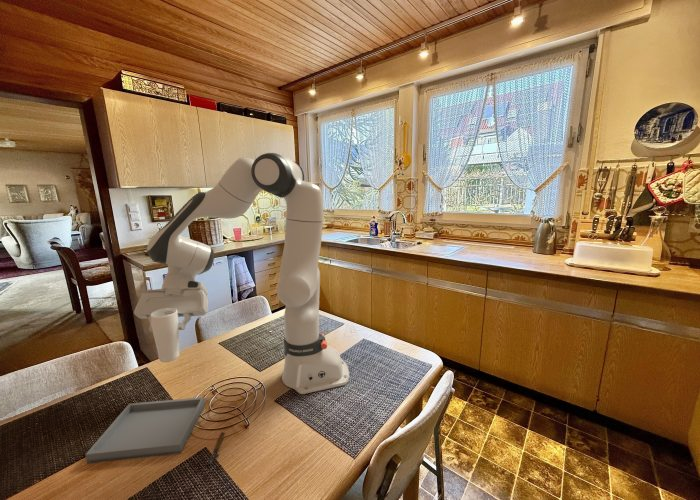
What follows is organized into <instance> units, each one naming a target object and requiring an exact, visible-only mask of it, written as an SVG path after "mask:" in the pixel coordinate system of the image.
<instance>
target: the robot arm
mask: <svg viewBox="0 0 700 500" xmlns="http://www.w3.org/2000/svg"><path fill="white" fill-rule="evenodd" d="M262 191H265V192H267V193H268V194H270V195H273V196H275V197H277V198H281V199H282V198H283V199H284V200H285V203H286V211H285V212H286V216H285V227H284V228H285V233H284V243H283V244H284V245H283V251H282V256H281V261H280V262H281V263H280V267H279V268H280V269H279V273H278V274H279V275H278V281H277V287H276V294H277V298H278V300H279V301H280V302H281V303H282V304H283V305H284V306H285V308H284V314H283V315H284V316H283V317H284V318H283V320H284V323H283V324H284V337H283V354H284V365H283V371H282V375H281V381H282V383H283V384H284V386H287V387H289V388H291V389H294V390H295V391H296V392H297V393H298V394H299V395H300V394H301V395H305V394H310V393H313V392H320V391H323V390H327V389H332V388H337V387H341V386H345V385H347V384H348V381H349V378H350V371H349V367H348V364H347V362H345V360H343V359H342V357H341V354H340V353H339V351H338V350H337V349H336V348H334V347H332V346H330V345H329V344H328V343H327V341H326V336H325V335H324V333H323V332H322V334H321V333H320V316H319V312H320V295H321V294H320V293H321V288H320V287H321V271H320V268H319V259H320V253H321V248H322V247H321V246H322V235H323V223H324V201H323V200H324V199H323V192H322V189H321V188H320V186H318V185H317V184H315V183H313V182H310V181H306V180H305V173H304V170H303V168H302V167H301V165H300V164H298V162H296V161H294V160H292V159H291V158H289V157H288V156H285V155H281V154H279V153H275V152H266V153H262V154H260V155H259V156H258V157H257V158H255V159H253V158H250V157H245V156H244V157H239V158H238V159H236V160H235V161H234V162H233V163H232V164H231V165H230V166H229V167H228V169H227V170H226V171H225V172H224V174H223V175H222V177H221V178H220V179H219V181H218V183H217V184H215V186H214V187H213V188H210V189H209V190H207V191H205V192H204V191H202V192H201V191H198V193H196V194H194V195H193V196H192V197H190V199H189V200H188V201H186V203H184V204H183V206H182V207H181V208H180V209H179V210H178V211H177V212H176V213H175V214H174V216H172V217H171V218H170V220H169V221H168V222H166V223H165V225H164V226H163V227H162V228H160V229H159V230H158V231H157V232H156V233H155V234H154V235H153V236H152V237H151V238H150V240H149V241H148V243H147V248H146V253H147V255H148V256H149V258H150V259H151V260H152V261H153V262H154V263H158V264H164V265H167V273H166V274H165V276H164V279H163V282H162V284H161V288H157V289H150V288H149V289H147V290H146V291H144V292H142V293H141V295H140V298H139V300H138V301H137V304H136V306H135V308H134V309H133V310H134V311H133V314H134V315H135V316H136V317H137V318H139V319H141V320H142V319H144V320H145V319H147V321H148V324H149V327H148V331H149V332H151V333H153V331H152V325H151V313H153V312H154V311H156V310H159V309H164V308H175V309H177V312H178V318H181V317H183V319H182V321H181V322H179V325H178V330H179V331H184V330H185V329H186V325H188V323H189V322H190V321H191V320H192V317H198V316H199V317H200V316H205V315H207V313H208V311H209V297H208V294H209V291H208V288H207V287H206V286H205V284H203V282H201V281H196V279H195V278H196V276H197V275H202V274H204V273H206V272H208V271H210V269H211V268H212V267H213V264H214V259H215V252H214V250H213V248H212V247H211V246H209V245H208V244H205V243H203V242H201V241H198V240H194V239H191V238H189V237H187V236H183V235H181V234H182V233H183V232H184V231H185V230H186V229H187V227H188V226H189V225H190V224H191V223H193V222H194V220H196V219H199V218H217V219H218V218H219V219H227V220H228V219H237V218H238V217H241V216H243V215H244V214H245V213H247V211H248V209H250V207H252V204H253V202H254V201H255V199H256V198H257V197H258V195H259V194H260V193H261V192H262ZM173 313H174V312H173V311H166V312H164V314H173Z"/></svg>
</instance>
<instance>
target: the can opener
mask: <svg viewBox="0 0 700 500" xmlns="http://www.w3.org/2000/svg"><path fill="white" fill-rule="evenodd" d="M225 434H226V433H225V432H224V431H222V432H220V434H219V437H218V439H217V441H216V445H215V447H214V448H213V449H214V450H213V453H212V454H211V455H210V456H209V457H210V458H209V457H208V458H209V459H208V458H207V459H208V465H210V466H212V465H213V462H215V458H216V459H218V457H219V456H220V455H219V450H220V448H221V445H222V443H223V441H224V438H225ZM209 461H210V462H209Z"/></svg>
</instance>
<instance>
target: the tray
mask: <svg viewBox="0 0 700 500" xmlns="http://www.w3.org/2000/svg"><path fill="white" fill-rule="evenodd" d="M205 406H206V398H205V396H202V397H193V398H192V397H191V398H189V397H188V398H179V399H178V398H177V399H167V400H156V401H145V402H133V403H128V405H127V406H126V407H125V408H124V409H123V410H122V412H120V414H118V416H117V417H116V418H115V420H114V421H113V422H112V423H111V424H110V425H109V427H107V429H106V430H105V431H104V432H103V433H102V434H101V435H100V437H99V438H97V440H96V441H95V443H94V444H93V445H92V446H91V447H90V449H89V450H88V451H87V452H86V453H85V454H84V456H85V459H86V464H87V465H88V464H89V465H90V464H96V463H98V464H99V463H107V462H115V461H116V462H117V461H124V460H125V461H126V460H133V459H134V460H135V459H143V458H144V459H145V458H150V457H159V456H160V457H161V456H169V455H170V456H171V455H178V454H182V453H183V450H184V449H185V446H186V445H187V442H188V441H189V438H190V437H191V435H192V433H193V430H194V428H195V427H196V425H197V423H198V421H199V418H200V416H201V414H202V413H203V410H204V408H205Z"/></svg>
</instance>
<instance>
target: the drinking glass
mask: <svg viewBox="0 0 700 500" xmlns="http://www.w3.org/2000/svg"><path fill="white" fill-rule="evenodd" d="M166 311H173V312H174V313H173V314H164V312H166ZM179 323H180V322H179V317H178V312H177V309H175V308H164V309H159V310H156V311H154V312H153V313H151V325H152V331H153V332H152V334H153V337H154V338H153V339H154V342H155V346H156V352H157V355H158V359H159V362H162V363H169V362H172V361H174V360H176V359H178V358H179V356H180V330H178V325H179Z"/></svg>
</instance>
